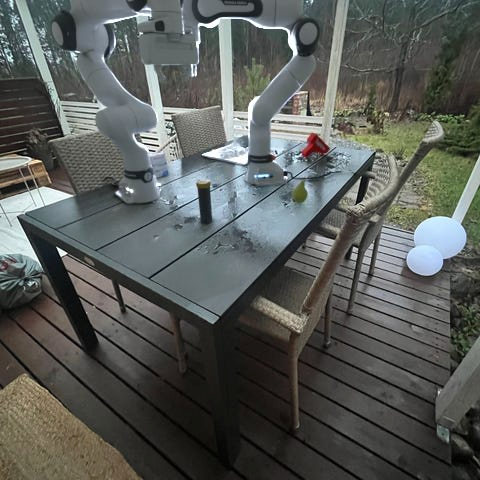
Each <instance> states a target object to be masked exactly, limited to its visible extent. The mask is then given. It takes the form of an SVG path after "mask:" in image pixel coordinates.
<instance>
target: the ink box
mask: <svg viewBox="0 0 480 480" xmlns="http://www.w3.org/2000/svg"><path fill="white" fill-rule="evenodd" d="M149 156H150V161H151V165H152V167H153V172H154V174H153V175H155V176H156V179H158V178H162V177H165V176H168V175H169V169H168V163H167V155H166V153H163V152H161V151H160V152H156V153H152V154H151V153H150V154H149Z"/></svg>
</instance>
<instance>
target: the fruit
mask: <svg viewBox="0 0 480 480" xmlns="http://www.w3.org/2000/svg"><path fill="white" fill-rule="evenodd" d="M306 177H307V178H309V177H311V175H310V174H309V175H308V176H306ZM307 178H306V179H301V181H300V182H298V184H297V185H296V186H295V187H294V188H293V190H292V191H291V198H292V200H293V201H294V202H295V203H297V204H301V203H304V202H305V201H306V200H307V198H308V196H309V195H308V190H307V189H306V184H305V183H306V180H308V179H307Z"/></svg>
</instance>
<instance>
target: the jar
mask: <svg viewBox="0 0 480 480" xmlns="http://www.w3.org/2000/svg"><path fill="white" fill-rule="evenodd" d="M196 189H197V197H198V209H199V219H200V220H199V221H200V223H202V224H206V225H207V224H210V223H212V222H213V211H212V195H211V186H210V187H208V188H198V187H197V186H196Z"/></svg>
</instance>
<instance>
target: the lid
mask: <svg viewBox="0 0 480 480" xmlns="http://www.w3.org/2000/svg"><path fill="white" fill-rule="evenodd" d="M195 185H196V188H197V187H198V188H208V187H210V188H211V180H210V179H209V178H200V179H197V180H196V181H195Z"/></svg>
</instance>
